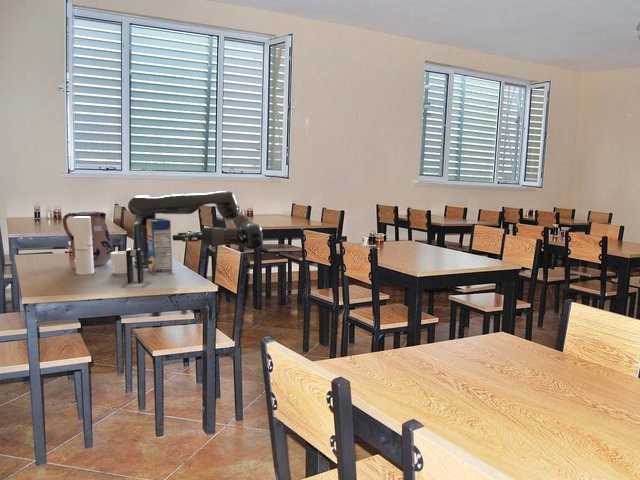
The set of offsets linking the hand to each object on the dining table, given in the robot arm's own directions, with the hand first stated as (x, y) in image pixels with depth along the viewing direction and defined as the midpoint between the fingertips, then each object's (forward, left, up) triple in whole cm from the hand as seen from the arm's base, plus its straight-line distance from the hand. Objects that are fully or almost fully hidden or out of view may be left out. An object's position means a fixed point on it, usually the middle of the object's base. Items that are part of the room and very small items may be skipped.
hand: (175, 236), depth 273 cm
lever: (+6, -14, -9) cm, 18 cm away
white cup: (-11, -27, -19) cm, 35 cm away
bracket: (+11, -14, -19) cm, 26 cm away
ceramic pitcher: (-36, -50, -19) cm, 64 cm away
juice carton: (-17, -12, -19) cm, 28 cm away
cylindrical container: (-15, -44, -19) cm, 50 cm away
